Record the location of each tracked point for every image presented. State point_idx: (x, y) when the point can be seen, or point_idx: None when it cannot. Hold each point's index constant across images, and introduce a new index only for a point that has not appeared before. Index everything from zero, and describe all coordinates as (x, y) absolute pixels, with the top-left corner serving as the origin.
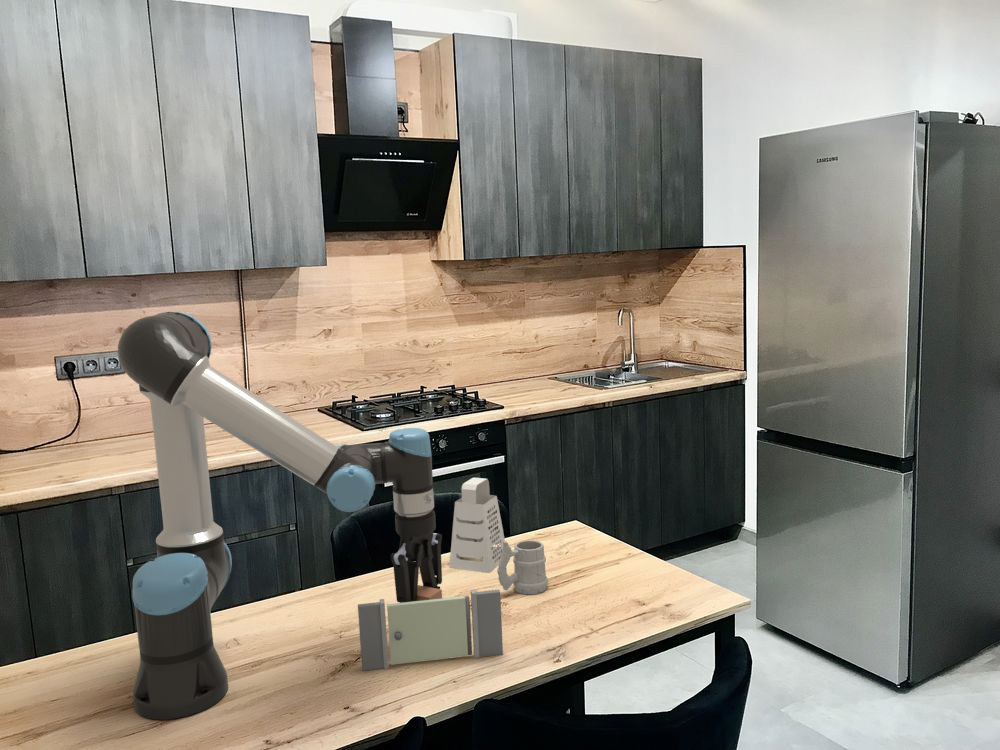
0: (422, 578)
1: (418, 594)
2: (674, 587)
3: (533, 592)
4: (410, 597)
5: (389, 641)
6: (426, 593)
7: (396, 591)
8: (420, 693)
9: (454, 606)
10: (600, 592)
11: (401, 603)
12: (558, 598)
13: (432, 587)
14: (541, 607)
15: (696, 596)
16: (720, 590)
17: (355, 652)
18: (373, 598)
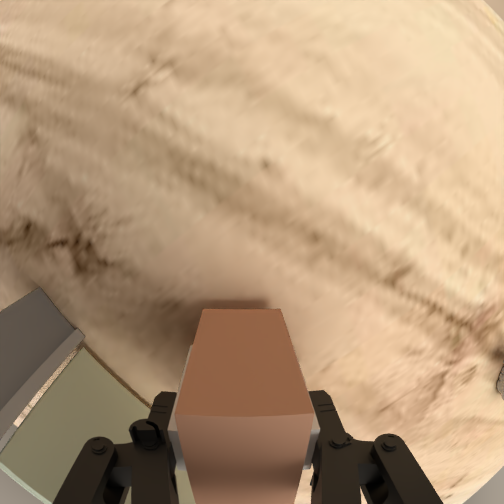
0: (320, 489)
1: (199, 488)
2: (487, 472)
3: (499, 389)
4: (126, 493)
5: (47, 389)
6: (228, 501)
7: (67, 479)
8: None
9: None
10: (489, 442)
11: (40, 496)
12: (480, 423)
13: (312, 481)
14: (452, 430)
15: (464, 494)
16: (474, 493)
17: (77, 210)
18: (408, 32)
